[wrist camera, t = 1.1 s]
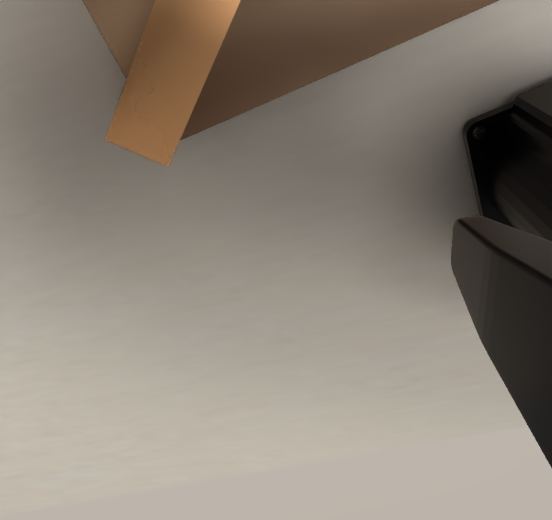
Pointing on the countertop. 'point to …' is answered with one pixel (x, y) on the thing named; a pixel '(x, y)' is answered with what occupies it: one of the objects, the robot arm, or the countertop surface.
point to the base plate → (281, 44)
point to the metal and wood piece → (169, 75)
